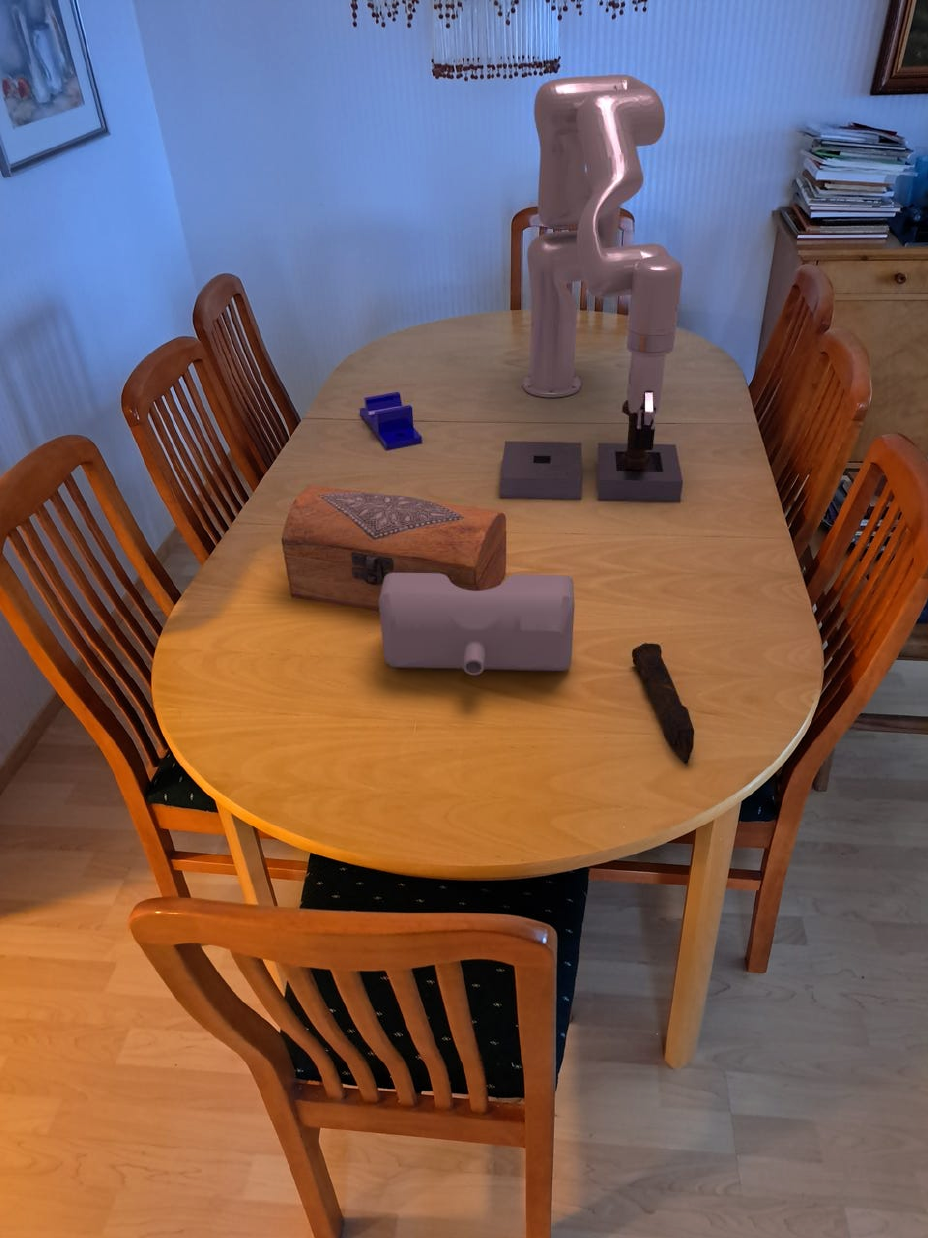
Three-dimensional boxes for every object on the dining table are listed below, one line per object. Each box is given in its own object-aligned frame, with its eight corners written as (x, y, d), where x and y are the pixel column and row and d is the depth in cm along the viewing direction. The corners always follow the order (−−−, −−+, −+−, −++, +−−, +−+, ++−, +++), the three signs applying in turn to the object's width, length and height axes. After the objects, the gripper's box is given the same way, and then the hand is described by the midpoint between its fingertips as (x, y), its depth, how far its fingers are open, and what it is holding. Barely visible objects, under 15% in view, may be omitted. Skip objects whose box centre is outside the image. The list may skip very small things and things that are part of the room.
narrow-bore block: (505, 460, 169) (505, 441, 166) (580, 462, 167) (581, 442, 165) (500, 497, 158) (500, 477, 155) (580, 499, 156) (581, 479, 154)
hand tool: (629, 665, 121) (632, 638, 118) (659, 663, 121) (662, 636, 118) (663, 768, 106) (667, 740, 103) (696, 766, 106) (701, 738, 103)
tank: (378, 702, 116) (369, 625, 109) (393, 626, 129) (387, 553, 122) (572, 706, 115) (577, 629, 107) (568, 629, 127) (572, 555, 120)
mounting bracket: (360, 416, 187) (357, 389, 183) (392, 410, 189) (390, 382, 185) (387, 452, 174) (384, 423, 170) (422, 445, 176) (420, 416, 172)
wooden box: (285, 601, 135) (270, 521, 127) (332, 544, 147) (321, 468, 139) (475, 636, 127) (473, 553, 119) (507, 573, 139) (508, 494, 131)
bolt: (648, 475, 163) (655, 396, 153) (651, 488, 159) (659, 409, 149) (615, 475, 163) (621, 397, 154) (618, 489, 159) (623, 409, 150)
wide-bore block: (596, 462, 167) (597, 442, 165) (672, 464, 166) (675, 444, 163) (598, 500, 156) (599, 479, 154) (680, 502, 155) (682, 481, 152)
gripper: (625, 320, 152) (617, 414, 163) (630, 358, 139) (621, 459, 149) (670, 320, 152) (659, 415, 162) (679, 359, 138) (667, 460, 148)
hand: (641, 436), depth 156 cm, fingers open, 9 cm apart
